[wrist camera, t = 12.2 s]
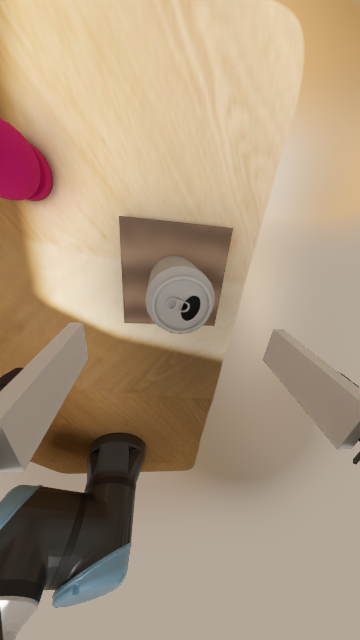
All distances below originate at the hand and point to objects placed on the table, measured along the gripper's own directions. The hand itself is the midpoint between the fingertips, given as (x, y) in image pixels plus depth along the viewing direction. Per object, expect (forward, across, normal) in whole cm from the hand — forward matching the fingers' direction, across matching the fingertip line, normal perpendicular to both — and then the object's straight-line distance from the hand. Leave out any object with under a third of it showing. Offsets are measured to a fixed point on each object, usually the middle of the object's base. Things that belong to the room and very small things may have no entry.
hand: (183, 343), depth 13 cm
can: (+18, -1, 0) cm, 18 cm away
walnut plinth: (+21, -1, 0) cm, 21 cm away
